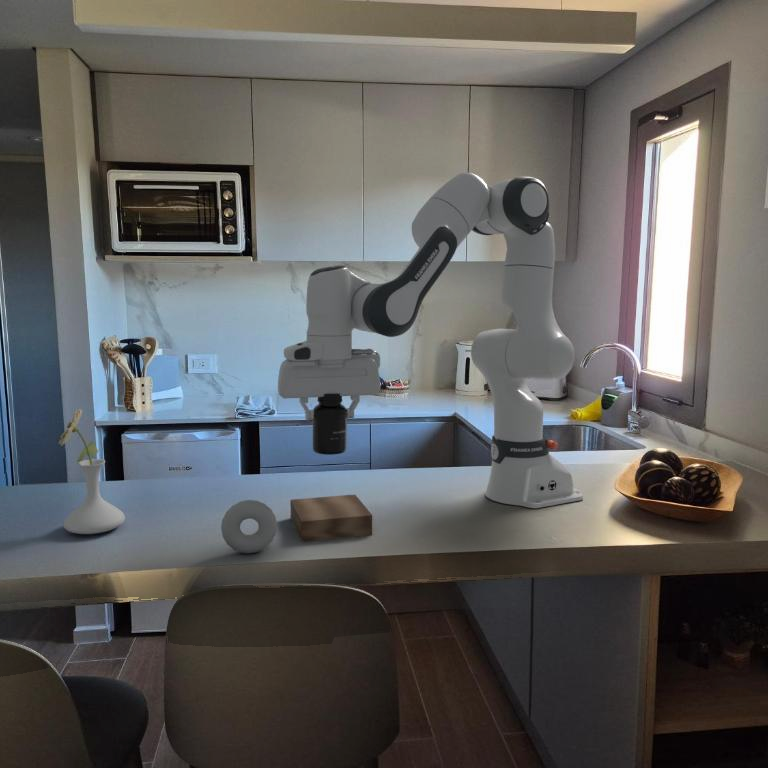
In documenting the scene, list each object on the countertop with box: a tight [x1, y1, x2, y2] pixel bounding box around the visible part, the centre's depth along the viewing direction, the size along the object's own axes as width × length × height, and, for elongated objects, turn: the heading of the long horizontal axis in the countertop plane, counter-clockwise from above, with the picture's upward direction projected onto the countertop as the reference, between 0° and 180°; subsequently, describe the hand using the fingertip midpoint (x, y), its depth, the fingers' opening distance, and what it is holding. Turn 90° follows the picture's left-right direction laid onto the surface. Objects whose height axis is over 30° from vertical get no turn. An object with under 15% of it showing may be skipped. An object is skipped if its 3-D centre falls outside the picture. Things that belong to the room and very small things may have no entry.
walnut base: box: [290, 494, 373, 542], centre depth 137 cm, size 14×14×4 cm
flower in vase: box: [58, 408, 126, 535], centre depth 132 cm, size 13×11×25 cm
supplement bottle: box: [312, 394, 348, 456], centre depth 134 cm, size 7×7×12 cm
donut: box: [220, 499, 278, 555], centre depth 122 cm, size 10×4×10 cm, turn 100°
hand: (329, 418), depth 134 cm, fingers closed on supplement bottle, 7 cm apart
